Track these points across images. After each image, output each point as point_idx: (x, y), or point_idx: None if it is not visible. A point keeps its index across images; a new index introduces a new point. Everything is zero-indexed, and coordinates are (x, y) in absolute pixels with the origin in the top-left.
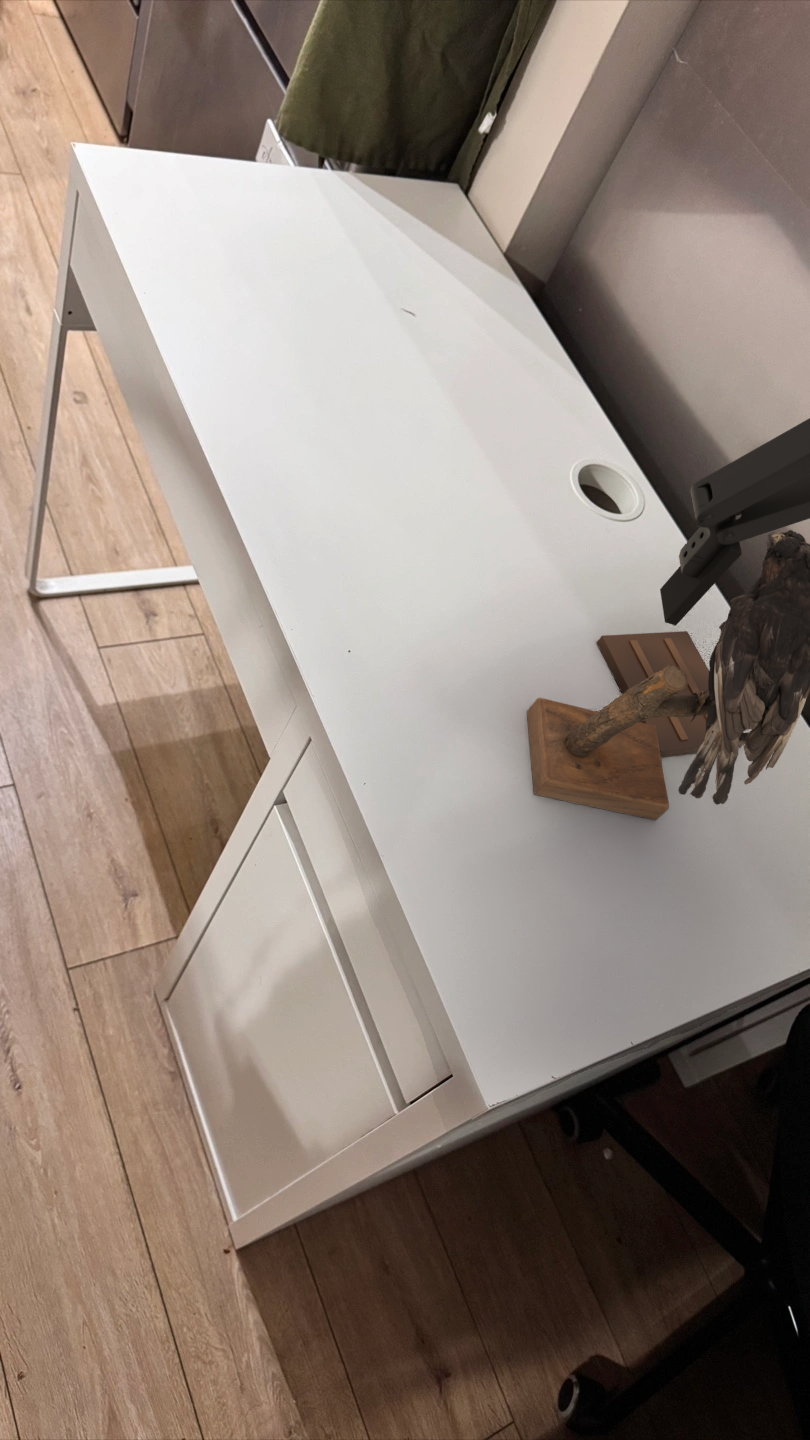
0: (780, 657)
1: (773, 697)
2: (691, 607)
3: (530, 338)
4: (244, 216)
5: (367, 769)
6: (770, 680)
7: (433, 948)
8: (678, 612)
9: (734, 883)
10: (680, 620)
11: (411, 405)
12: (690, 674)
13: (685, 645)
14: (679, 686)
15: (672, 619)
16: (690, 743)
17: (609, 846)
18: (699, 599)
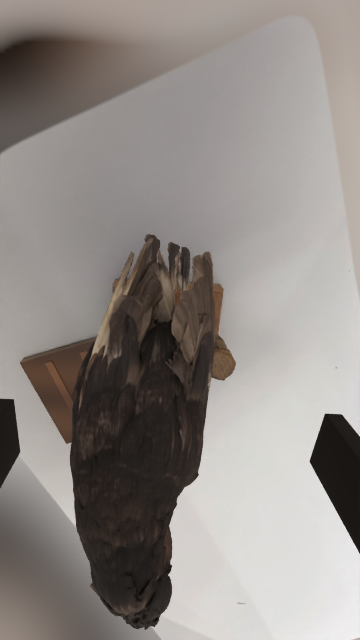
0: (158, 403)
1: (144, 346)
2: (349, 443)
3: None
4: (333, 622)
5: (344, 282)
6: (169, 364)
7: (329, 140)
8: (350, 431)
9: (45, 231)
10: (330, 421)
11: (252, 546)
12: (68, 408)
13: (69, 431)
14: (216, 356)
15: (341, 420)
16: (77, 349)
17: (161, 249)
18: (358, 459)
